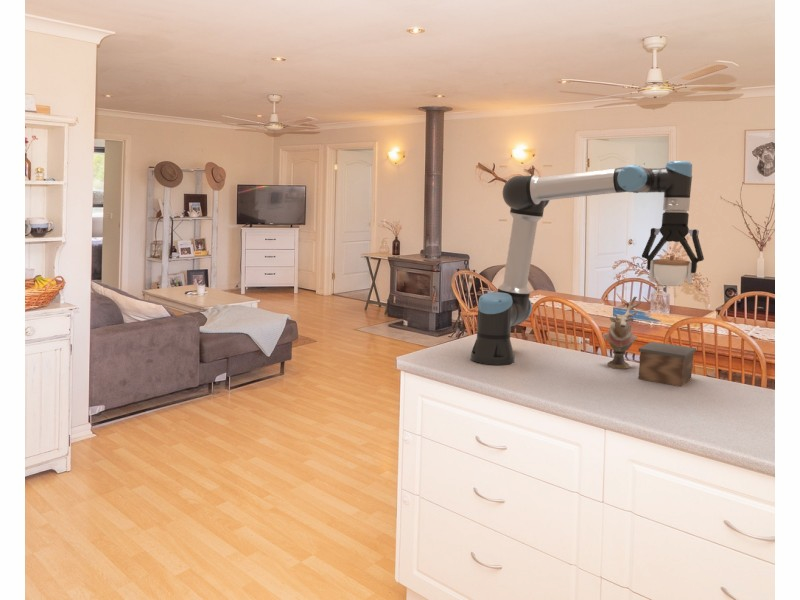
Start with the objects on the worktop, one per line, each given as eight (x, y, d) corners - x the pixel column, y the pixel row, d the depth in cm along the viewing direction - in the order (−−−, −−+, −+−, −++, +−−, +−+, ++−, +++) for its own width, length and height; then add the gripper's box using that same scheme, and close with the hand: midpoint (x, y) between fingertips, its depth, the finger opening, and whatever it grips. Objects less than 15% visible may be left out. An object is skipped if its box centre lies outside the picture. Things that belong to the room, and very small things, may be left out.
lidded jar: (656, 282, 208) (658, 253, 207) (691, 284, 202) (693, 255, 201) (647, 285, 200) (650, 255, 198) (684, 288, 193) (686, 257, 192)
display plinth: (636, 378, 204) (638, 348, 203) (649, 370, 215) (651, 341, 214) (682, 387, 196) (685, 355, 194) (693, 378, 207) (696, 348, 205)
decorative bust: (618, 370, 210) (624, 294, 210) (596, 365, 222) (601, 294, 222) (646, 371, 213) (651, 297, 213) (622, 367, 225) (627, 297, 225)
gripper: (634, 211, 202) (629, 279, 205) (713, 212, 188) (707, 286, 191) (641, 211, 208) (636, 278, 211) (719, 212, 194) (712, 284, 197)
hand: (670, 282), depth 201 cm, fingers closed on lidded jar, 11 cm apart
